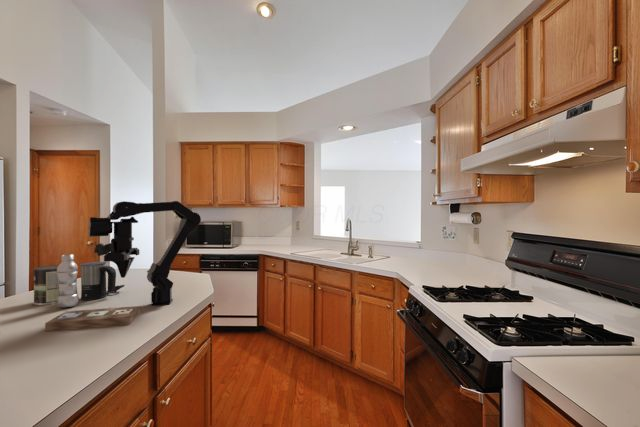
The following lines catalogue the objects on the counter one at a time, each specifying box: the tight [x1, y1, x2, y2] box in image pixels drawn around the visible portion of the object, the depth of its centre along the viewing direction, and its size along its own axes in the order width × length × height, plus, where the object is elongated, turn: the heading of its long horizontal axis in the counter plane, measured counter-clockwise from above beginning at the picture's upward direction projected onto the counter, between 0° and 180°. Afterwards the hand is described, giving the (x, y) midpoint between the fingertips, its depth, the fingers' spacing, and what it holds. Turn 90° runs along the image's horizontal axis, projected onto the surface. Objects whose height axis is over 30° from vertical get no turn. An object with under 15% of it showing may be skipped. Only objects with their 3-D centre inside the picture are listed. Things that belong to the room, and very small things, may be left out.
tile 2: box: [57, 312, 83, 319], centre depth 103 cm, size 5×5×2 cm
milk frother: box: [79, 261, 126, 301], centre depth 139 cm, size 14×16×15 cm
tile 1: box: [85, 311, 109, 317], centre depth 105 cm, size 5×5×2 cm
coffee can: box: [32, 264, 60, 306], centre depth 129 cm, size 10×10×14 cm
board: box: [44, 305, 142, 332], centre depth 105 cm, size 23×12×2 cm, turn 105°
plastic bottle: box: [56, 253, 80, 309], centre depth 121 cm, size 6×7×20 cm
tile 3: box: [111, 309, 133, 315], centre depth 106 cm, size 5×5×2 cm
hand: (123, 277), depth 117 cm, fingers closed
